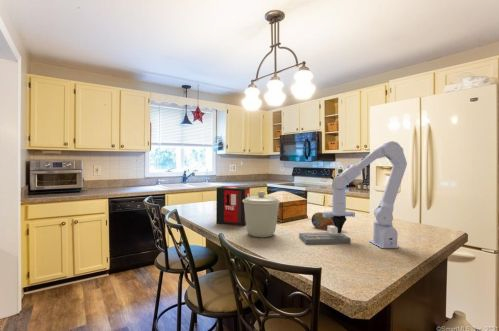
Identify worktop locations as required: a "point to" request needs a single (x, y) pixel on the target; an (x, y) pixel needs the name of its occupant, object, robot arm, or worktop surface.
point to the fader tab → (332, 230)
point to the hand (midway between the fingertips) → (338, 232)
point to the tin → (321, 221)
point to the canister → (261, 214)
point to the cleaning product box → (231, 205)
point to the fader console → (323, 238)
